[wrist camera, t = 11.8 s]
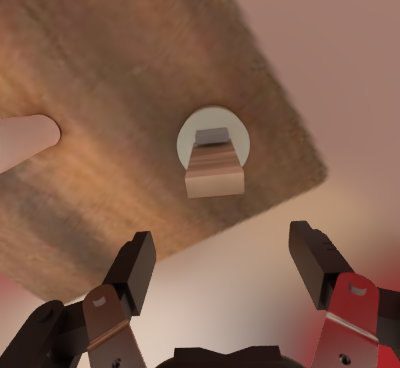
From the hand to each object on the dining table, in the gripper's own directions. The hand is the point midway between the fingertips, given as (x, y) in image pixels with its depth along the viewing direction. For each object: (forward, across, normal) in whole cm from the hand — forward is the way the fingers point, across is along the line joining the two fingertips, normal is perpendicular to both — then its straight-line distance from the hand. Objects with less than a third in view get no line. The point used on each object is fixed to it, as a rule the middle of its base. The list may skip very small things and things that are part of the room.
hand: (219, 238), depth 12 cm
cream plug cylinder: (+26, 0, 0) cm, 26 cm away
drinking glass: (+26, +28, -4) cm, 38 cm away
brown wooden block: (+19, 0, 0) cm, 19 cm away
